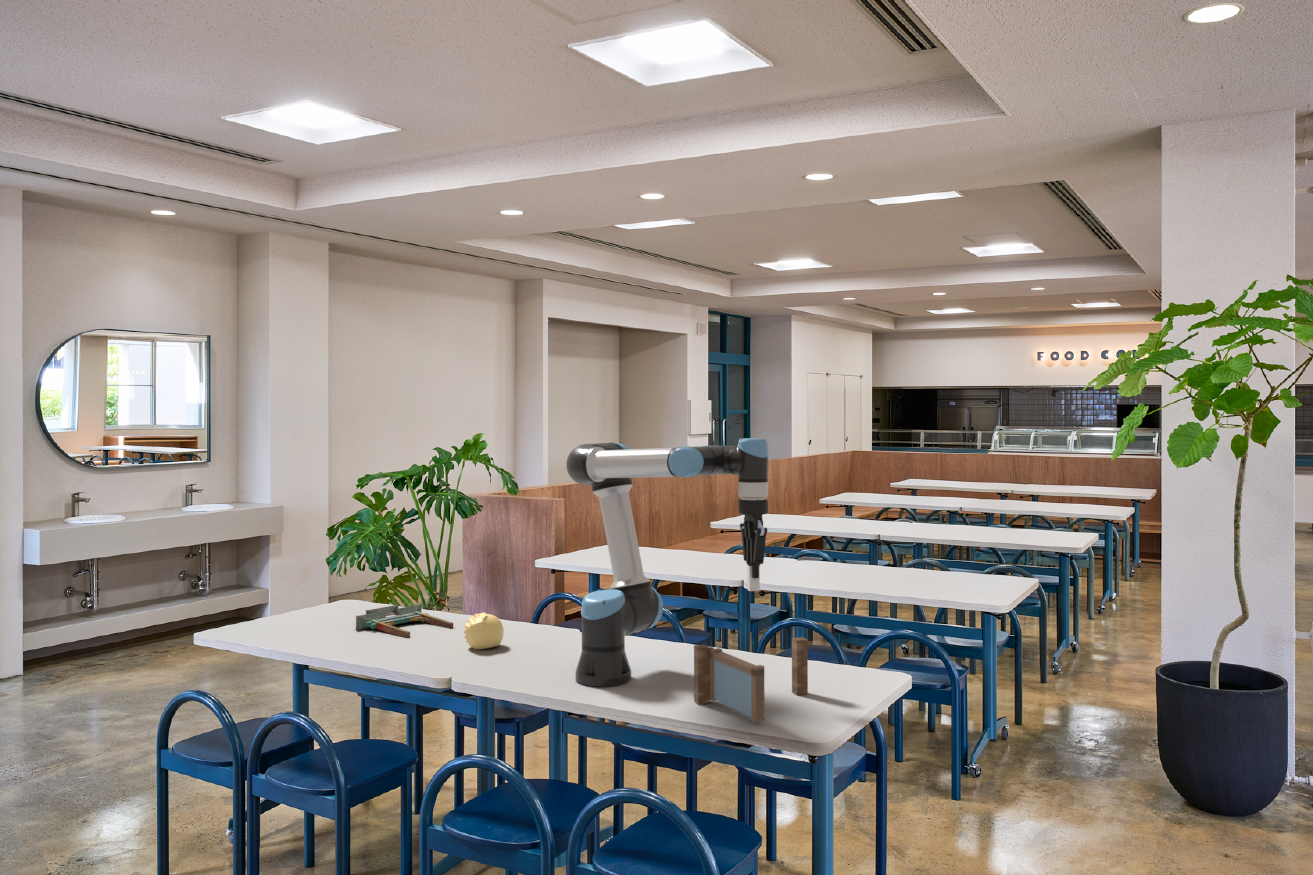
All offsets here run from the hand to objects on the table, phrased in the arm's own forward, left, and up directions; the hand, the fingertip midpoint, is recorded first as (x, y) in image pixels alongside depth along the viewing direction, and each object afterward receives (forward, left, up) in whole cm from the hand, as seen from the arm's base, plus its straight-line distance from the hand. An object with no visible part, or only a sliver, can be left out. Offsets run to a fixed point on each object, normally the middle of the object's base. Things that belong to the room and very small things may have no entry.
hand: (753, 590), depth 245 cm
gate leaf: (+15, -11, -25) cm, 31 cm away
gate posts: (+4, -2, -26) cm, 27 cm away
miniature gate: (-109, -84, -27) cm, 141 cm away
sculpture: (-71, -61, -27) cm, 97 cm away
